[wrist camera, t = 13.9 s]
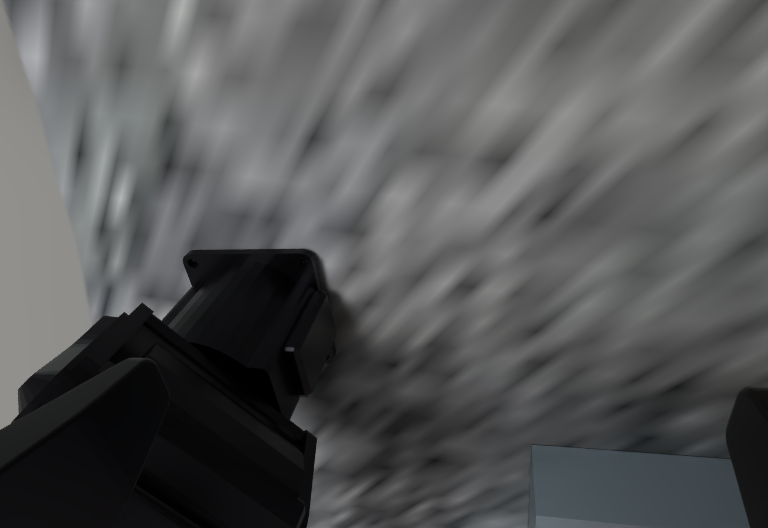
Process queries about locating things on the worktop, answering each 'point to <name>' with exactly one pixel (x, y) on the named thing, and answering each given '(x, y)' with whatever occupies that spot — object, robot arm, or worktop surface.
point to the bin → (631, 490)
